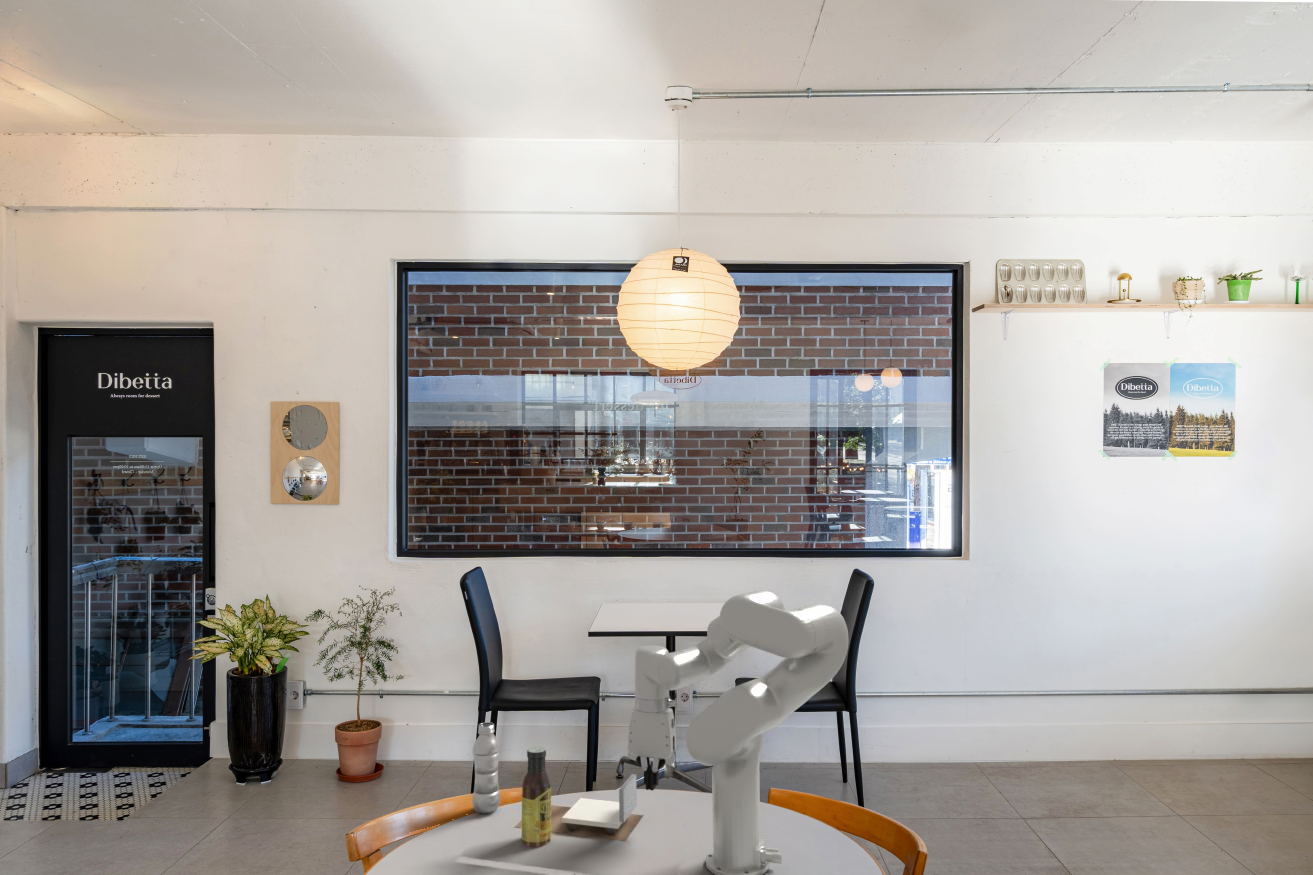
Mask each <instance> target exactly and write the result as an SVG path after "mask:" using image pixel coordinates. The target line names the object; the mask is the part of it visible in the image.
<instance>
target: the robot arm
mask: <svg viewBox="0 0 1313 875" xmlns="http://www.w3.org/2000/svg"><path fill="white" fill-rule="evenodd" d="M785 609H786V608H785V606H784V603H783V601H782V599H781V598H780V597H779V596H778V595H777V594H775V593H773V592H771V591H769V590H754V591H749V592H746V593H741V594H737V595H733V596H732V597H730V598H729V599H727V600H726V601H725V602H724V604H723V605H722V607H721V609H720V613H719V615H718V616H717V617H716V618H714V619H713V620H711V621H710V623H709V624H708V626H707V630H706V631H707V632H706V637H705V638H704V639H703V640H701V641H700V642H698V643H697V644H695V645H693V646H690V647H687V648H683V649H679V650H676V651H673V652H670V651H669V650H668V649H667V648H666V646H665V647H664V646H662V645H655V644H651V645H642V646H640V647H638V648H637V649H636V651H635V658H634V662H635V665H634V667H635V670H634V671H635V672H634V674H635V675H634V679H635V680H634V706H633V707H632V710H631V713H630V719H629V726H628V736H627V750H628V751H627V752H628V753H627V758H628V759H629V760H632V761H634V762H635V761H636V763H638V765H639V766H640V767H641V770H642V771H643V784H644V785H645V790H647V791H649V790H650V791H654V790H655V789H656V787H657V786H658V785H659V782H660V778H659V776H660V769H661V768H662V767H664V765H673V764H674V763H675V762H676V755H675V752H676V750H677V734H676V722H675V716H674V711H673V708H672V707H675V706H676V700H675V699H672V698H671V696H670V691H676V690H679V689H682V688H686V687H687V686H690V685H693V684H696V683H700V682H702V681H705V680H706V679H709V678H710V677H712V676H713V675H715V674H716V673H718V672H720V671H721V670H723V669H724V668H726V667H727V666H729V664H731V663H732V662H733V661H734V660H735V659H736V657H737V656H739V655H740V654H742V653H744V652H745V651H747V649H749V648H750V647H752V648H755V649H757V650H760V651H762V652H763V651H764V652H766V653H770V654H772V655H775V656H778V657H781V658H783V659H782V660H781V661H780V662H779V663H778V664H776V666H774V667H773V668H772V669H771V670H769V671H768V672H767V673H765V674H764V675H762V676H760V677H757V678H754V679H752V680H749V681H746V682H743V683H741V684H738V685H736V686H734V687H731V688H730V689H729V690H727V691H726V692H723V693H722V694H721V695H720V696H719V697H717V698H716V699H715V700H714V701H713V702H712V703H710V705H708V706H707V707H706V708H704V709H703V710H702V711H701V712H700V713H699V714H697V715H696V717H694V718H693V719H692V721H691V722H690V723H689V725H688V727H687V730H686V735H685V744H686V748H687V752H688V754H689V755H690V757H691V758H692V759H693V760H694V761H695V762H697V763H699V764H700V765H703V766H707V767H712V771H711V772H712V773H711V774H712V775H711V787H712V788H711V791H712V792H711V793H712V794H711V795H712V796H711V797H712V844H713V846H712V847H713V848H712V850H710V851H709V852H708V853H707V854H706V857H705V865H706V868H707V869H708V870H709V872H710V873H712V874H714V875H764V874H765V873H766V872H768V870H769V868H770V867H769V866H770V863H771V864H772V863H773V864H776V865H783V862H784V861H783V860H784V854H783V853H781V852H779V848H778V847H768V846H767V845H765V839H764V838H762V836H761V808H760V807H761V805H760V804H761V801H760V799H761V797H760V796H761V795H760V793H761V792H760V784H761V783H760V767H761V766H760V762H761V761H760V760H761V753H762V744H763V737H764V733H765V732H768V731H770V730H772V729H774V728H776V727H777V726H778V725H780V724H781V723H783V722H784V721H785V720H786V719H787V718H788V717H790V716H791V715H792V714H793V713H795V711H796V710H798V709H799V708H800V707H802V706H803V705H804V704H805V703H806V702H807V701H809V700H810V699H811V698H812V697H813V696H815V695H816V694H817V693H819V691H821V689H823V688H825V686H826V685H827V684H828V683H829V682H831V681H832V679H833V678H835V677H836V675H837V674H838V672H839V670H840V669H841V668H842V666H843V664H844V663H845V659H846V657H847V653H848V651H849V650H848V649H849V639H850V638H849V632H848V625H847V622H846V621H845V618H844V616H843V615H842V614H841V612H840V611H838V610H837V609H836V608H835V607H833V606H831V605H827V604H820V603H818V604H810V605H806V606H800V607H798V608H793V609H790V610H785ZM651 759H653V761H652V764H651Z"/></svg>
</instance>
